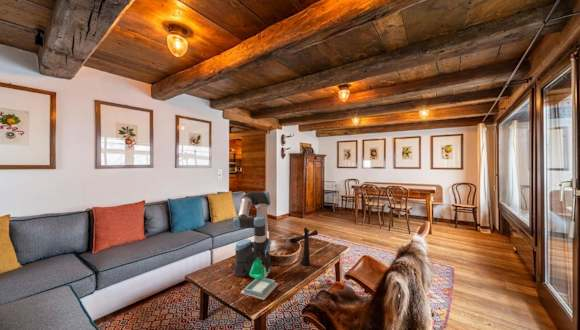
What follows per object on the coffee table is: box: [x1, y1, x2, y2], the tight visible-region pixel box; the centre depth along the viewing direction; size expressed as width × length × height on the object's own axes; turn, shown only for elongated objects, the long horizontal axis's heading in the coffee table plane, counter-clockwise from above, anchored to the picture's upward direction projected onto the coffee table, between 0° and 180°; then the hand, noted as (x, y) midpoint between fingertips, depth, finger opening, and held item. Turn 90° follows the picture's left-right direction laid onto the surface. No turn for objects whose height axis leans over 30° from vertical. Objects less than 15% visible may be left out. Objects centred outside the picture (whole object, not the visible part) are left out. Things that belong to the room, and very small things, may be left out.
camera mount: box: [248, 258, 271, 280], centre depth 149 cm, size 12×8×10 cm, turn 143°
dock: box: [240, 277, 279, 301], centre depth 149 cm, size 17×18×3 cm
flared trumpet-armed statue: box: [289, 227, 319, 267], centre depth 185 cm, size 31×10×30 cm, turn 135°
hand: (259, 275), depth 149 cm, fingers closed on camera mount, 9 cm apart
